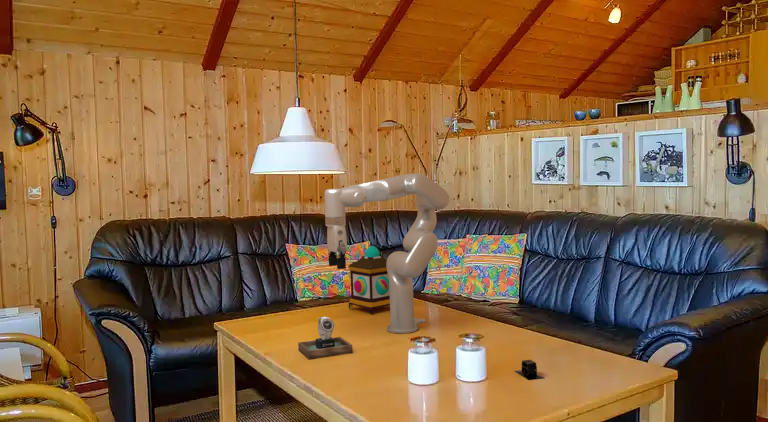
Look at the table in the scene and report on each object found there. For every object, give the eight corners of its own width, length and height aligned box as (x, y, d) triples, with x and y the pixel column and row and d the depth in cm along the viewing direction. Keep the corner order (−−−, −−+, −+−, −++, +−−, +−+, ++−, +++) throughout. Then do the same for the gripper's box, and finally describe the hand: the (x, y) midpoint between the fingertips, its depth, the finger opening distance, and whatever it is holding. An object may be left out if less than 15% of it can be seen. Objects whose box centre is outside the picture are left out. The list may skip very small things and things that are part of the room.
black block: (509, 371, 187) (509, 357, 187) (530, 368, 189) (530, 354, 189) (528, 384, 175) (528, 369, 175) (551, 381, 177) (550, 366, 177)
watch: (322, 351, 209) (321, 320, 209) (314, 346, 216) (312, 316, 216) (337, 349, 212) (336, 318, 211) (328, 343, 219) (327, 314, 218)
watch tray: (340, 344, 223) (340, 336, 223) (352, 352, 211) (352, 345, 211) (298, 350, 217) (298, 342, 216) (308, 359, 205) (308, 351, 205)
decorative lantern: (377, 303, 296) (375, 242, 294) (404, 309, 280) (402, 245, 279) (344, 309, 283) (342, 246, 281) (370, 316, 268) (368, 249, 266)
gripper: (353, 222, 218) (354, 269, 219) (337, 220, 234) (339, 263, 234) (333, 223, 215) (335, 271, 216) (319, 221, 231) (320, 265, 232)
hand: (337, 267), depth 225 cm, fingers open, 9 cm apart
